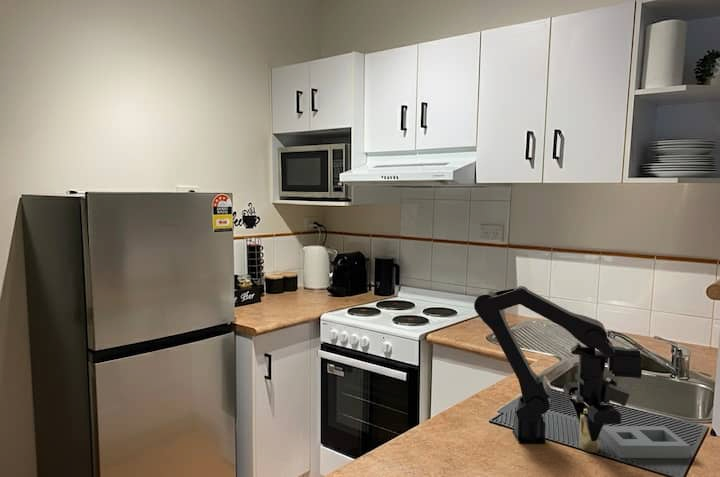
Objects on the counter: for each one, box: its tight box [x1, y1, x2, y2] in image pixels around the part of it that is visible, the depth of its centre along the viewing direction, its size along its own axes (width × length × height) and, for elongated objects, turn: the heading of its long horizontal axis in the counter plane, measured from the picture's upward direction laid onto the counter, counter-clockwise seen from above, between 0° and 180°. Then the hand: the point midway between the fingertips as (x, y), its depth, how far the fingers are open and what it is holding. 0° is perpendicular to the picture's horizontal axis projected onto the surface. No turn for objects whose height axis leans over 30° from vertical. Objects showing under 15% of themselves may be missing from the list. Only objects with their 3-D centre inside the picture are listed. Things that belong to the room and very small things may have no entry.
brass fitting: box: [578, 407, 600, 453], centre depth 123 cm, size 4×4×10 cm
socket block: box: [599, 425, 691, 459], centre depth 123 cm, size 16×10×3 cm, turn 89°
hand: (589, 436), depth 123 cm, fingers closed on brass fitting, 4 cm apart
